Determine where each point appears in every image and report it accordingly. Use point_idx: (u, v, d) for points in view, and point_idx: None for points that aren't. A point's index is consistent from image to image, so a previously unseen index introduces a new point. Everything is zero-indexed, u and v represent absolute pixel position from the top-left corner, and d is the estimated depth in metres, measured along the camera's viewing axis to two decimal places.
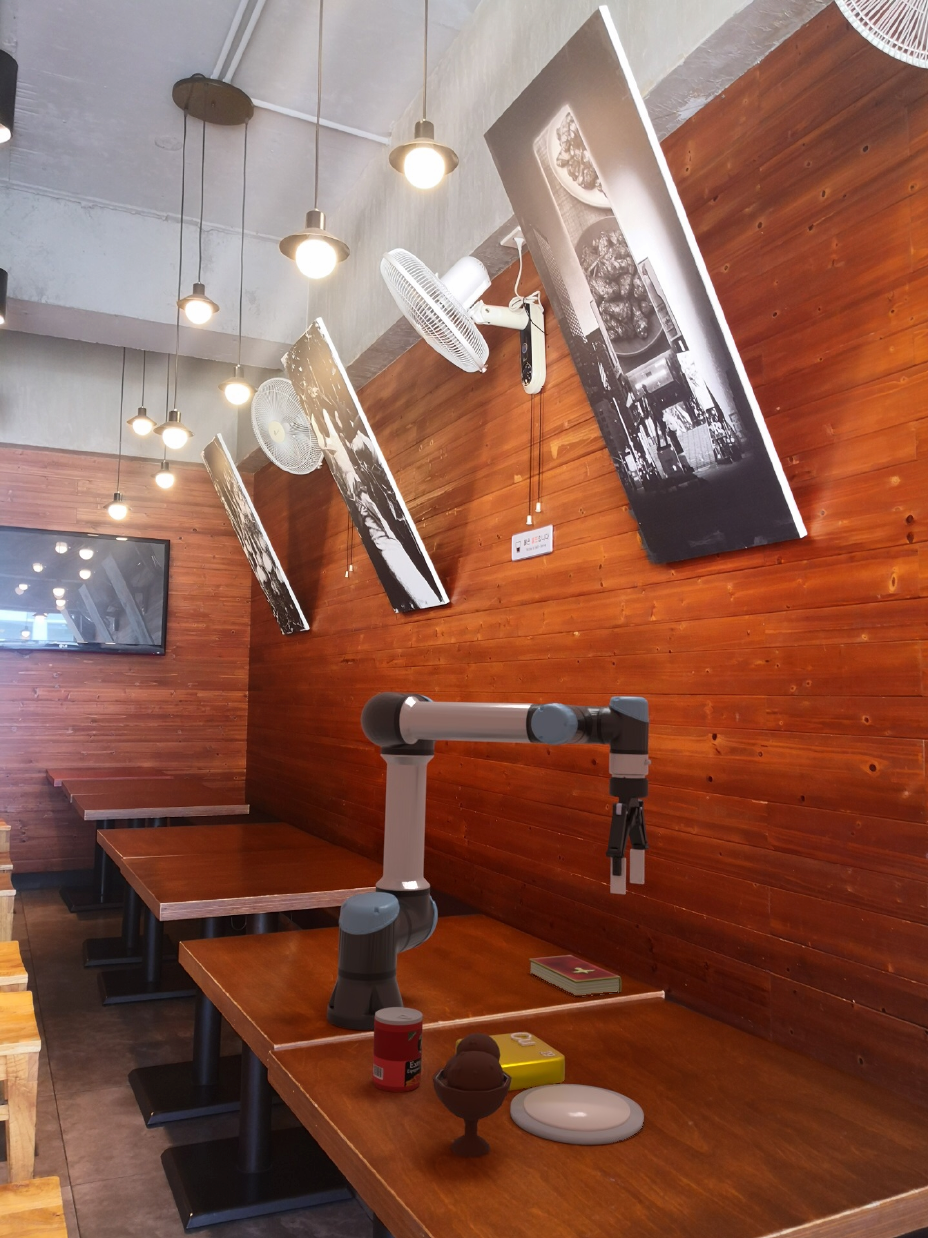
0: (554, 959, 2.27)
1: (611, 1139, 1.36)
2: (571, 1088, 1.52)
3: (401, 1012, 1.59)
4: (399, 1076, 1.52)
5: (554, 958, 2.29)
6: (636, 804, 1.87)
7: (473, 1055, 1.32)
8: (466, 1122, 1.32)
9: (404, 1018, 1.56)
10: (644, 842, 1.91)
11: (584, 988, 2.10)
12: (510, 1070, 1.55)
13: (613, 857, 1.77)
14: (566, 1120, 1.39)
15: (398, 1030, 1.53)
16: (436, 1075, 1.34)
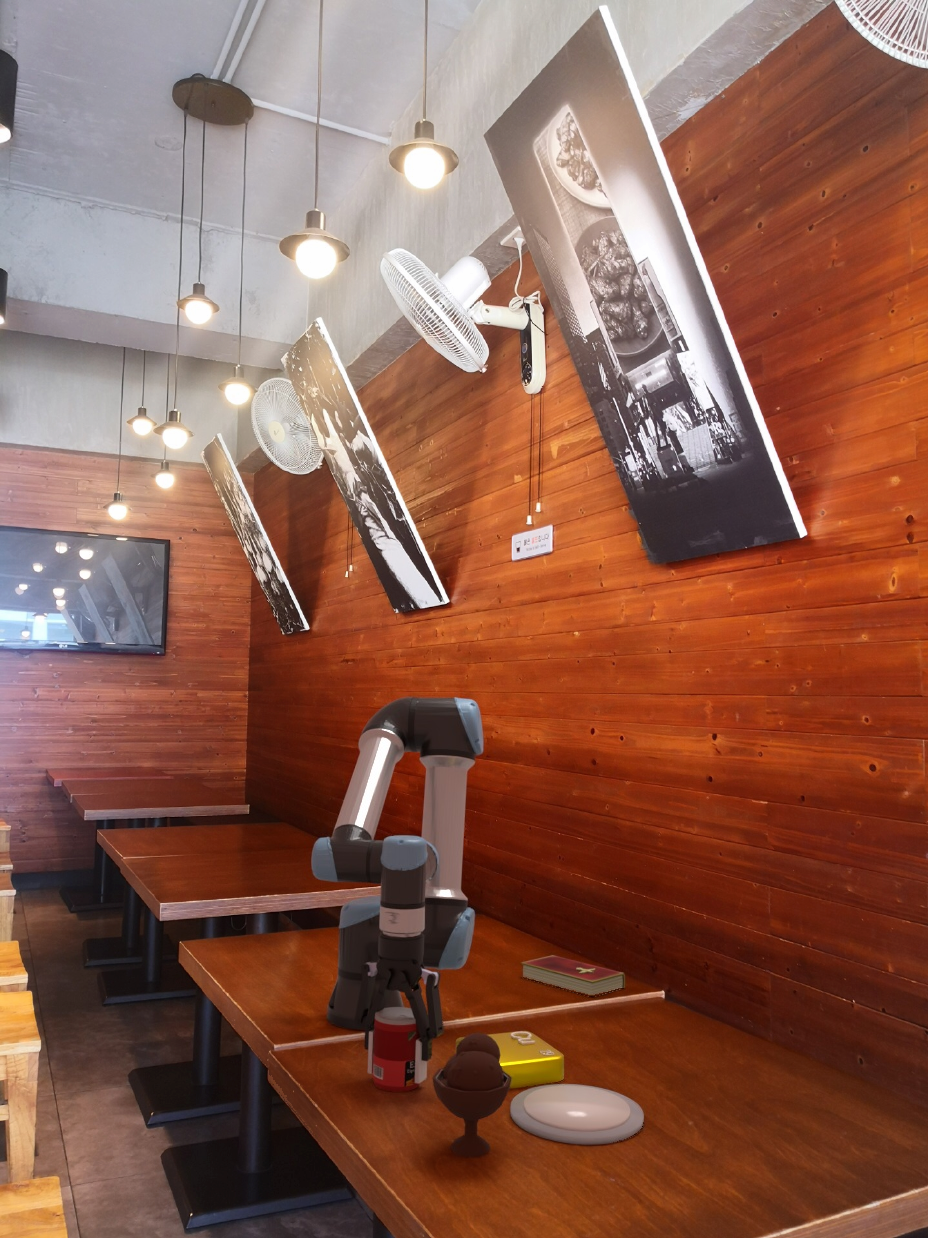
0: (544, 961, 2.26)
1: (611, 1139, 1.36)
2: (571, 1088, 1.52)
3: (401, 1012, 1.59)
4: (399, 1076, 1.52)
5: (543, 960, 2.27)
6: (407, 966, 1.56)
7: (473, 1055, 1.32)
8: (466, 1122, 1.32)
9: (404, 1018, 1.56)
10: (425, 1032, 1.53)
11: (597, 987, 2.10)
12: (509, 1068, 1.55)
13: None
14: (566, 1120, 1.39)
15: (398, 1029, 1.53)
16: (436, 1075, 1.34)
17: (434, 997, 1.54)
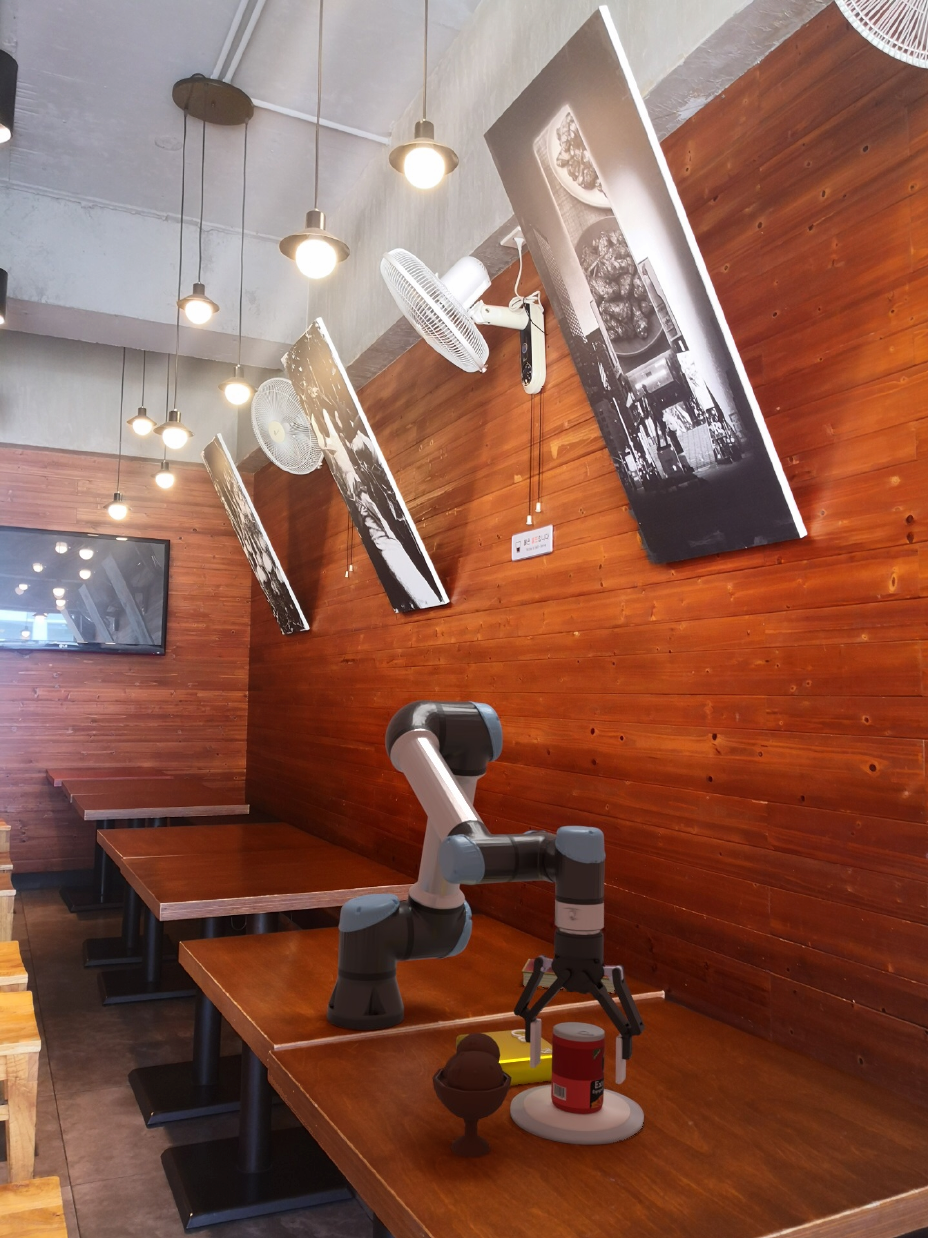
0: None
1: (611, 1139, 1.36)
2: None
3: (579, 1028, 1.48)
4: (585, 1097, 1.42)
5: (532, 965, 2.21)
6: (587, 968, 1.46)
7: (472, 1055, 1.32)
8: (466, 1122, 1.32)
9: (586, 1034, 1.45)
10: (625, 1028, 1.42)
11: None
12: (507, 1066, 1.57)
13: None
14: (566, 1120, 1.39)
15: (582, 1046, 1.42)
16: (436, 1075, 1.34)
17: (625, 992, 1.43)
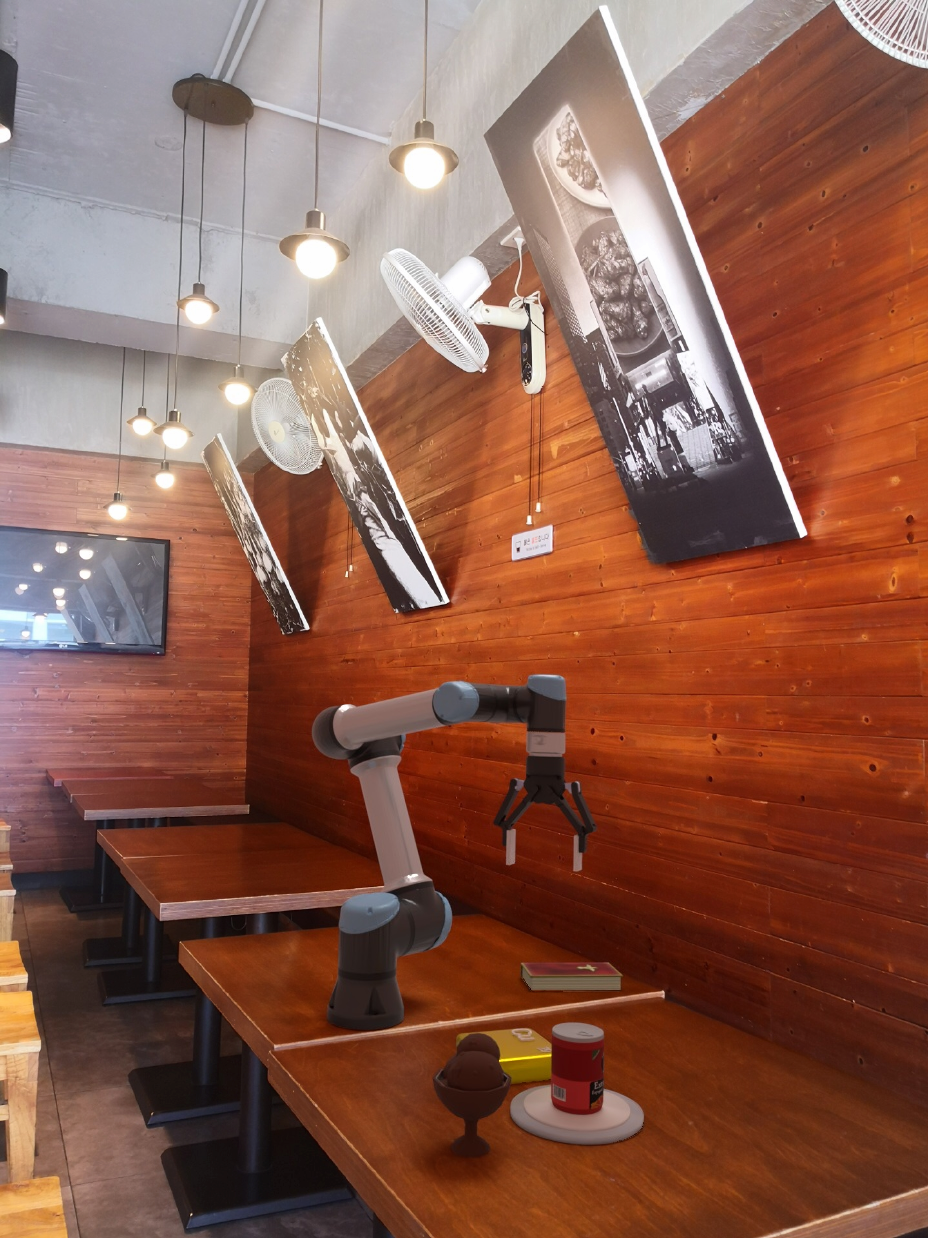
0: (537, 969, 2.18)
1: (611, 1139, 1.36)
2: None
3: (578, 1028, 1.48)
4: (584, 1098, 1.42)
5: (532, 968, 2.18)
6: (551, 784, 1.83)
7: (472, 1055, 1.32)
8: (466, 1122, 1.32)
9: (585, 1035, 1.45)
10: (581, 828, 1.79)
11: None
12: (506, 1064, 1.57)
13: None
14: (566, 1120, 1.39)
15: (581, 1048, 1.42)
16: (436, 1075, 1.34)
17: (581, 800, 1.80)
